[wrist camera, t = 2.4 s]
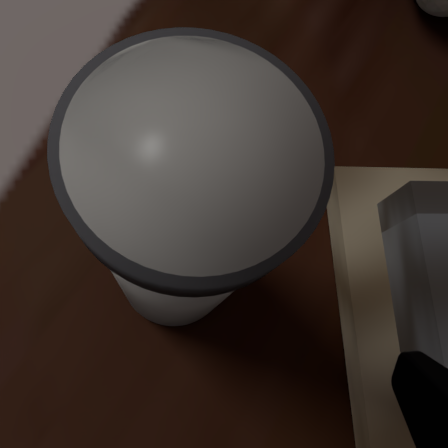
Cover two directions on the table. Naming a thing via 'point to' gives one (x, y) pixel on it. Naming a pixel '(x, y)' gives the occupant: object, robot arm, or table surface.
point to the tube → (189, 166)
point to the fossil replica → (434, 7)
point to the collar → (388, 285)
